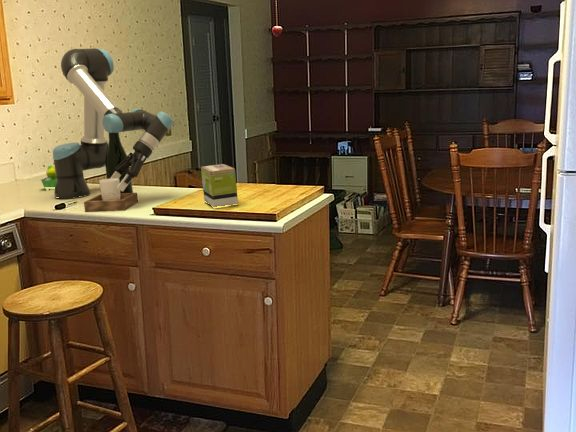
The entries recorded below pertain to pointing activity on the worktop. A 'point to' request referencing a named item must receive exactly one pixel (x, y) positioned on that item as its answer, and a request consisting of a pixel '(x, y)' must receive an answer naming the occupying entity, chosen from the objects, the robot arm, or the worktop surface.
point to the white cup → (110, 189)
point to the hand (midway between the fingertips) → (114, 187)
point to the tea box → (219, 185)
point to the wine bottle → (116, 159)
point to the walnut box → (111, 203)
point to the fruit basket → (50, 177)
